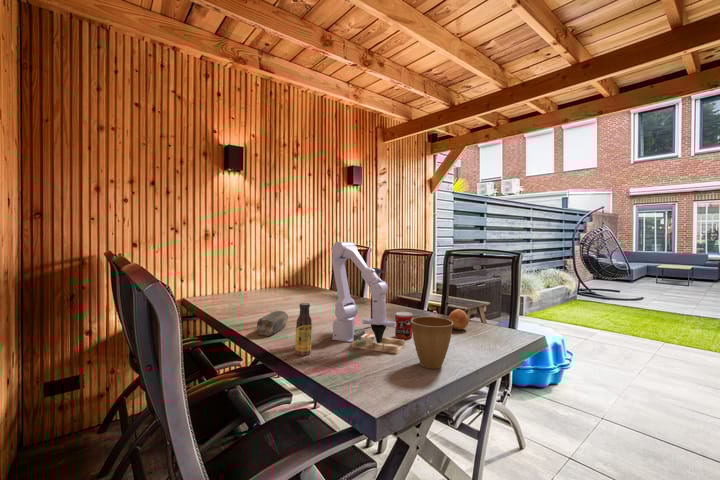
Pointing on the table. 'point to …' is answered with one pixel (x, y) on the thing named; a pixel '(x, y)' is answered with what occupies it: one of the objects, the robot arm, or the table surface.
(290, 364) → the table surface
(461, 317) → the onion
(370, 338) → the cream gift box
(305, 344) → the sauce bottle
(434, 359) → the plant pot
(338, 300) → the robot arm
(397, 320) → the canned food
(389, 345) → the track
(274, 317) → the stone block
